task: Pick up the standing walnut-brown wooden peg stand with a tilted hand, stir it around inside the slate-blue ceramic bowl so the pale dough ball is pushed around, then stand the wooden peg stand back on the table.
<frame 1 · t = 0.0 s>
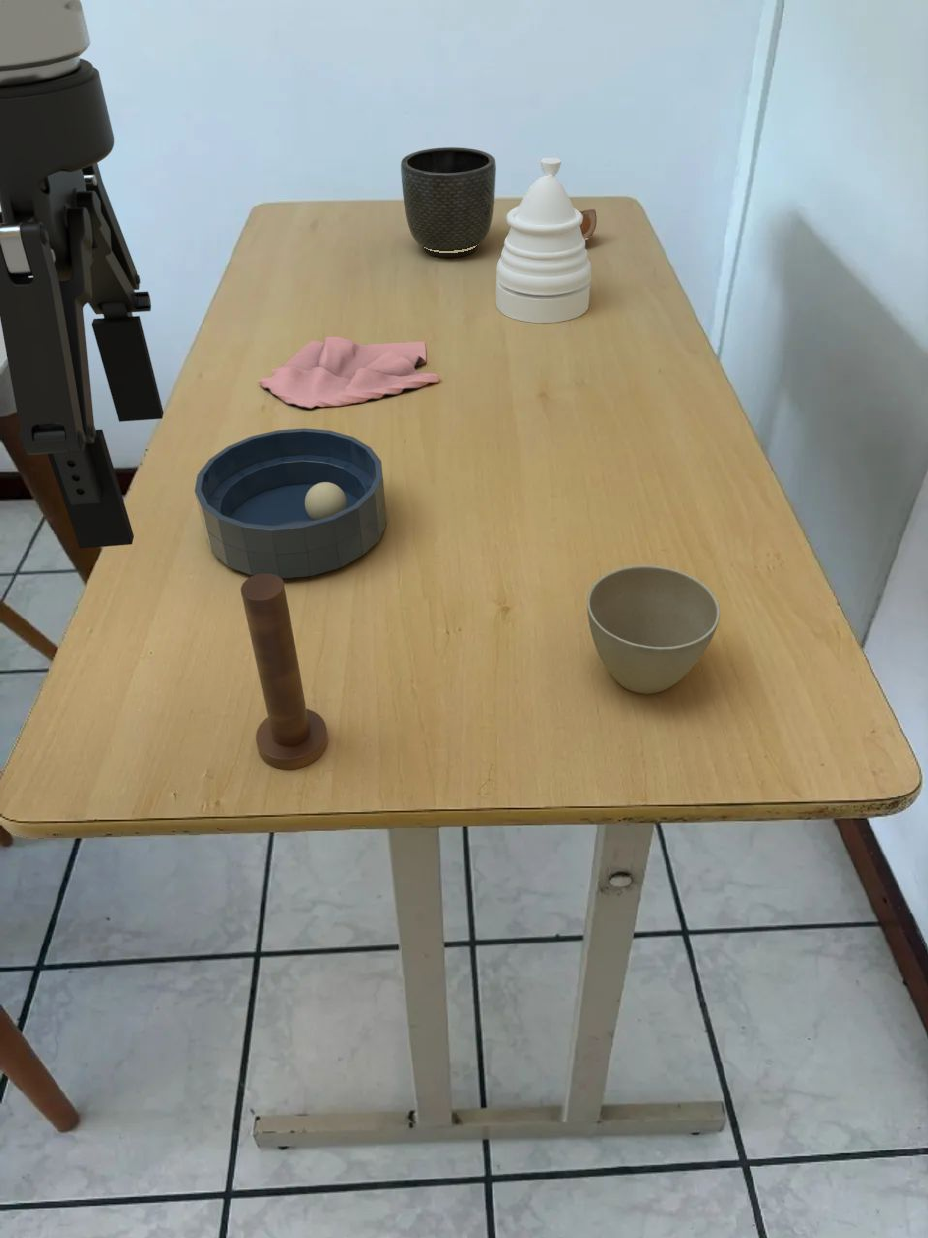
hand: (126, 474, 56), 24 cm above the table, tool pointing down, fingers open, 13 cm apart
planter: (450, 250, 149), on the table
bowl: (297, 527, 93), on the table
flower pot: (642, 673, 77), on the table
honey pot: (542, 304, 133), on the table
wooden peg stand: (293, 743, 72), on the table
cloth: (358, 373, 118), on the table
fruit slice: (567, 245, 150), on the table
dough ball: (325, 503, 92), point 3 cm above the table, touching bowl
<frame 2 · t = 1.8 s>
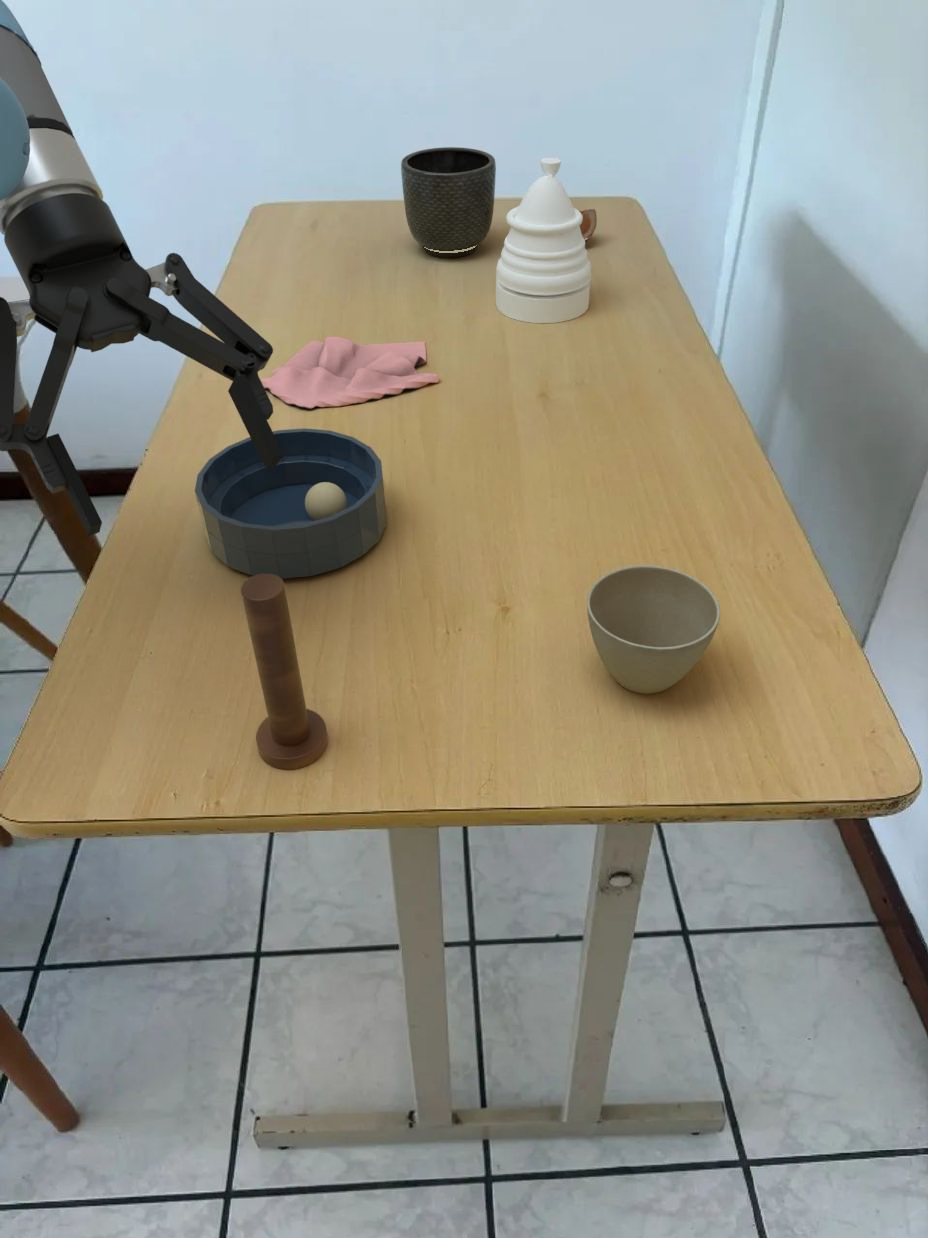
hand: (189, 495, 67), 17 cm above the table, tool tilted 45°, fingers open, 13 cm apart
nothing on the table moved.
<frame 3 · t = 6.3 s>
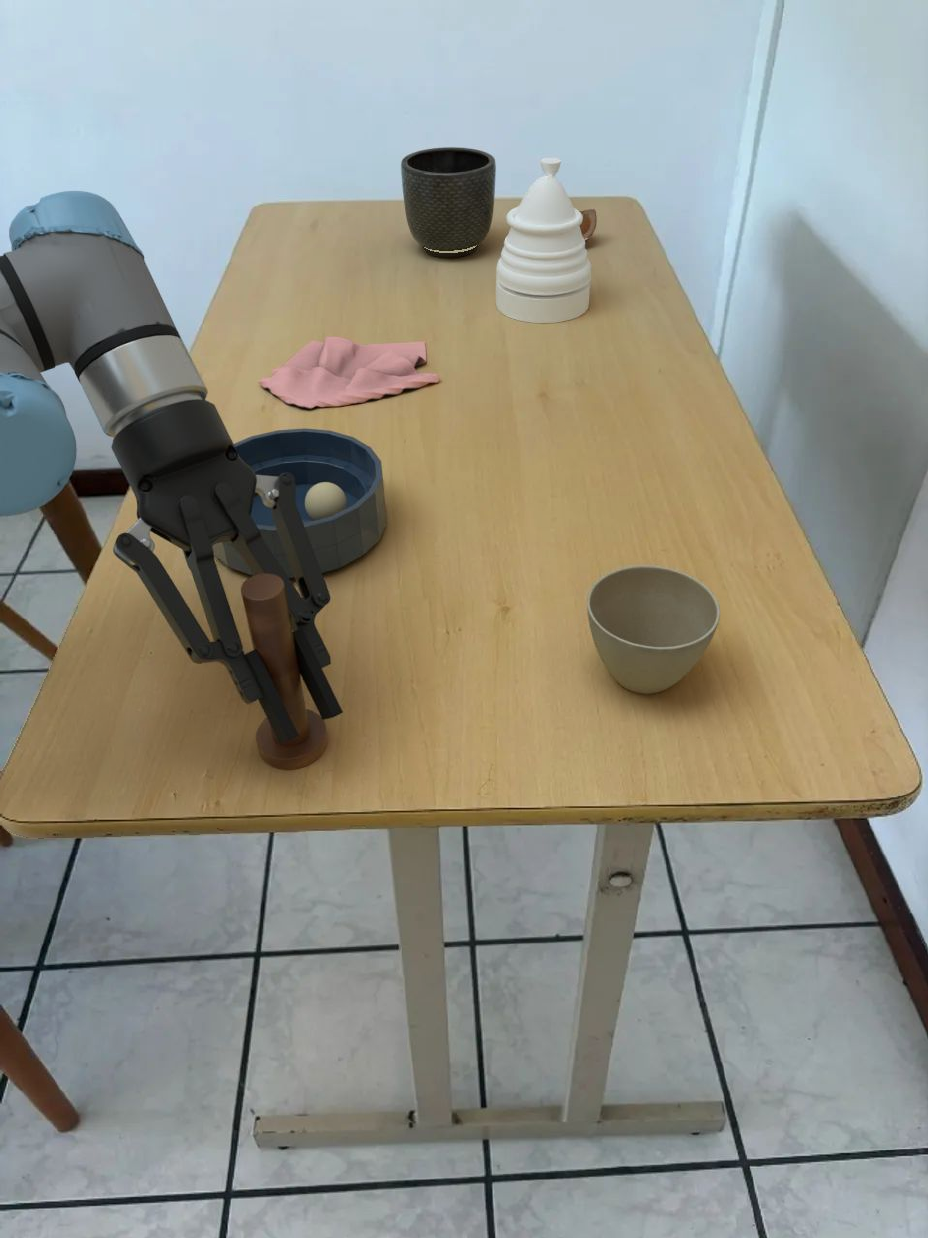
hand: (310, 726, 66), 5 cm above the table, tool tilted 45°, fingers closed on wooden peg stand, 3 cm apart
wooden peg stand: (293, 743, 72), on the table, touching gripper
everything else where it was.
when the fingers open (6 cm above the table, at t = 26.9 s): wooden peg stand stays where it is, on the table.
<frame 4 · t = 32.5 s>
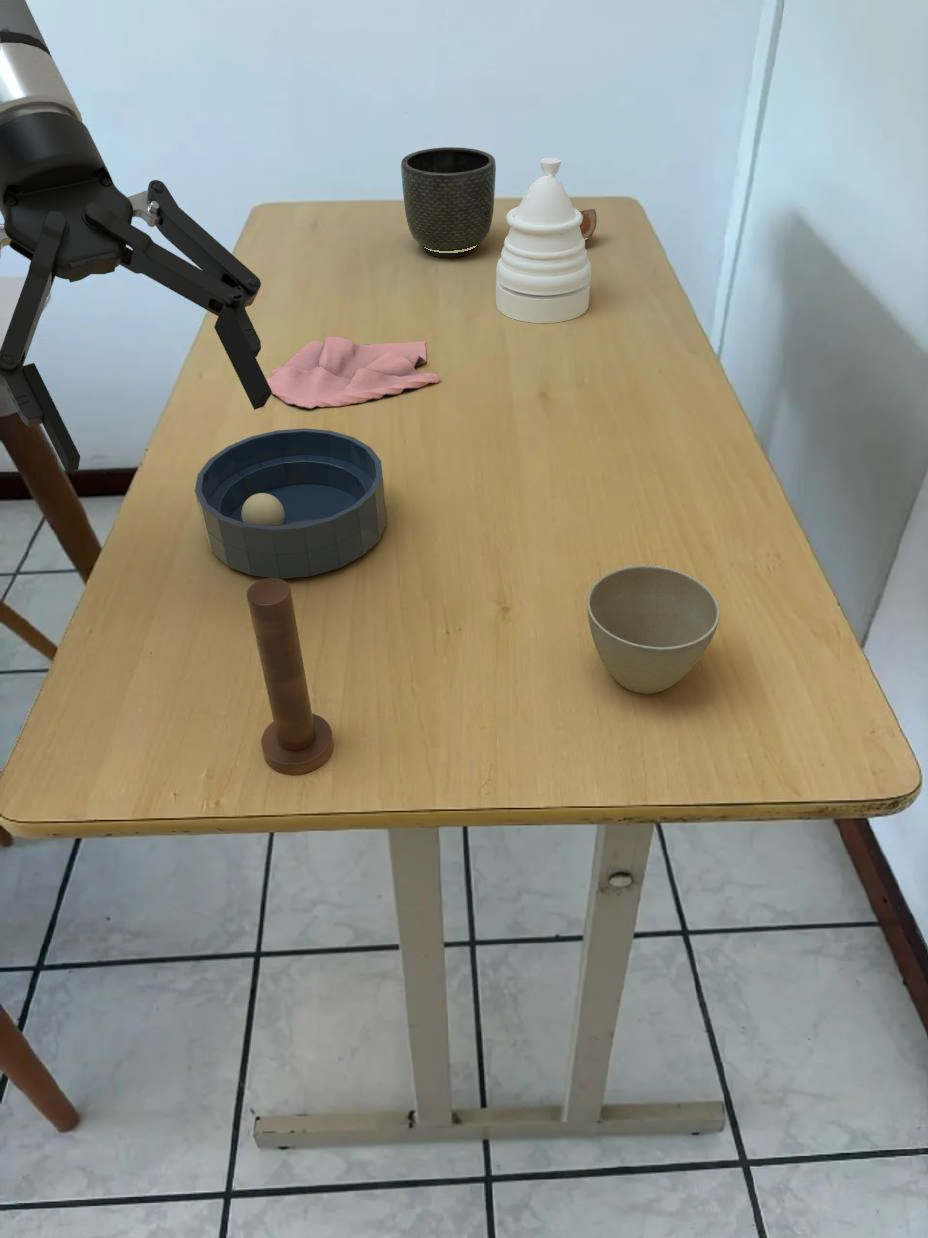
hand: (173, 432, 64), 22 cm above the table, tool tilted 45°, fingers open, 13 cm apart
wooden peg stand: (298, 748, 72), on the table
dough ball: (262, 514, 90), point 3 cm above the table, tilted 140°, touching bowl
everything else where it was.
at the end: dough ball moved 6.0 cm from its start; dough ball 3.1 cm from the bowl (horizontally); wooden peg stand tilted 0° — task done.
